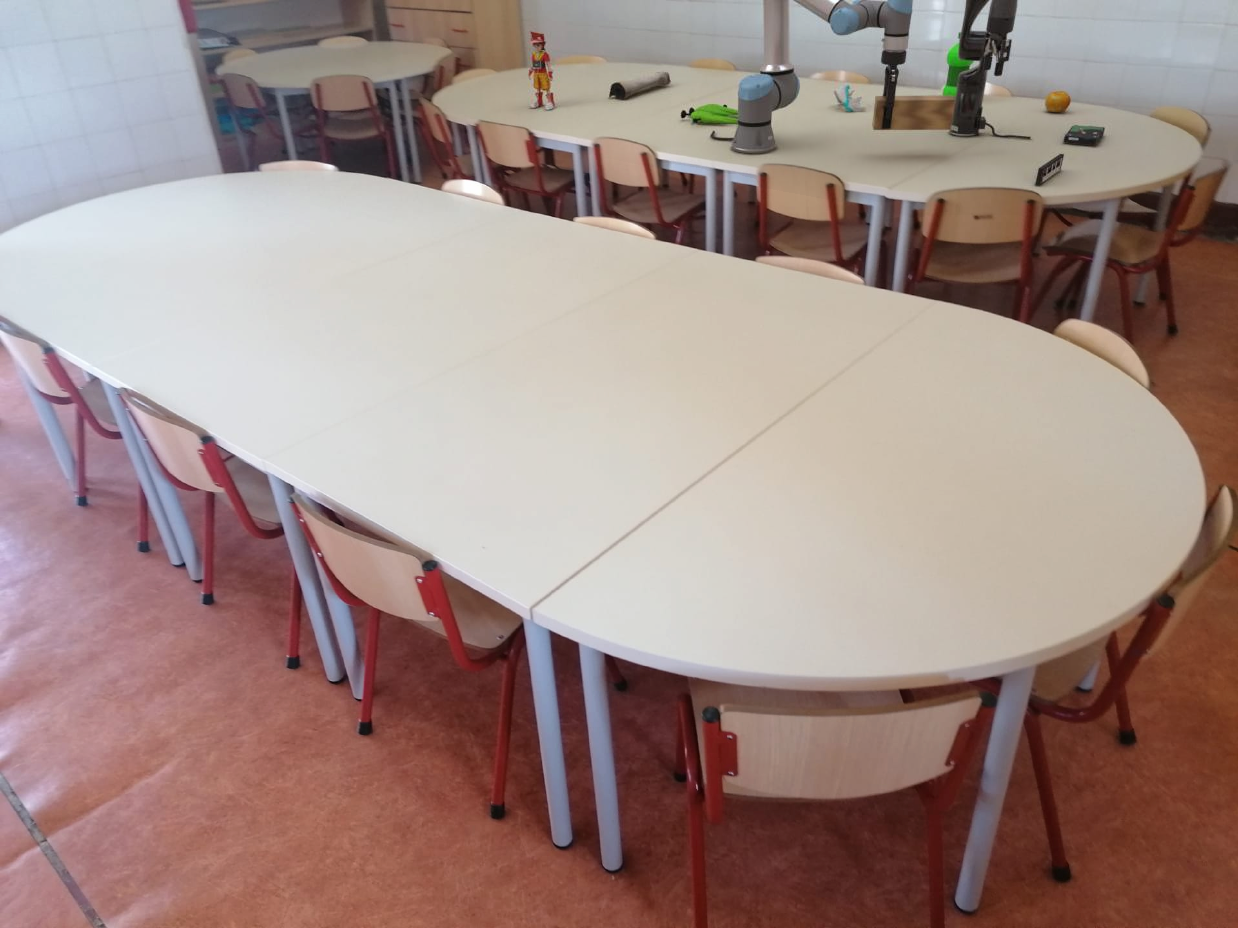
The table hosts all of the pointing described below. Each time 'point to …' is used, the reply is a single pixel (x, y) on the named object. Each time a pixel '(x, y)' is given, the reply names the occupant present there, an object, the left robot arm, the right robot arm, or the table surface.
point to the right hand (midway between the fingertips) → (992, 73)
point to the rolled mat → (638, 84)
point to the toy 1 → (541, 71)
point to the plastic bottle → (954, 69)
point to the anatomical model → (847, 98)
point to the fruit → (1057, 101)
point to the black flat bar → (1049, 169)
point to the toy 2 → (711, 114)
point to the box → (916, 112)
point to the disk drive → (1084, 135)
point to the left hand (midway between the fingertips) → (885, 125)
